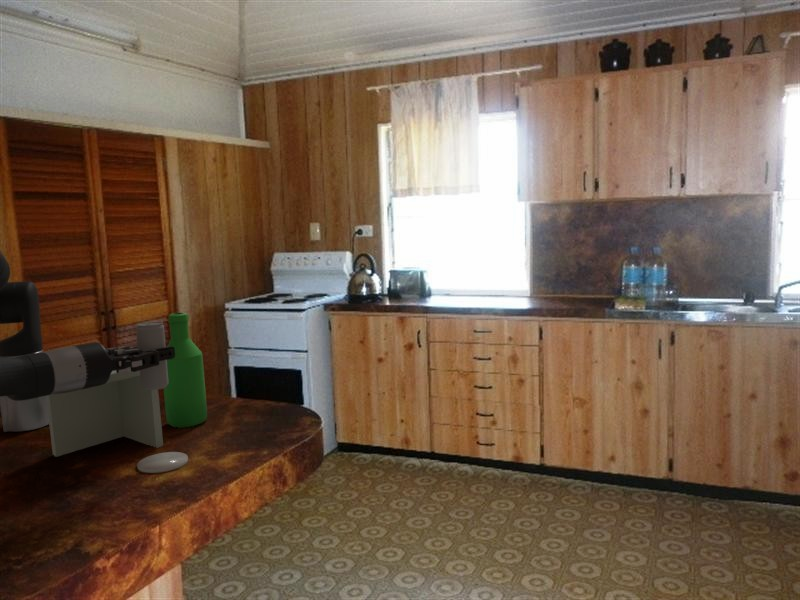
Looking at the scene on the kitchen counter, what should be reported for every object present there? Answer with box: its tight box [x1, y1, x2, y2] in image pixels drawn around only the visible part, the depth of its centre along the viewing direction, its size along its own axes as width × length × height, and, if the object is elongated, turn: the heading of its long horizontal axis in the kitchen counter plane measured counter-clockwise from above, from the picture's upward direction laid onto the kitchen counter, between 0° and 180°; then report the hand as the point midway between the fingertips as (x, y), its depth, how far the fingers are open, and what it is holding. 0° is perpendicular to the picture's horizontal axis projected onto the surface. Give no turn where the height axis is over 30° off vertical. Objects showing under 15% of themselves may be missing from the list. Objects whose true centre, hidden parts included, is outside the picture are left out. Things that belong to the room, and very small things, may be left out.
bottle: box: [163, 312, 208, 429], centre depth 146 cm, size 9×9×25 cm
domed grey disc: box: [136, 451, 189, 474], centre depth 124 cm, size 9×9×1 cm
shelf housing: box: [46, 370, 164, 457], centre depth 131 cm, size 16×14×17 cm
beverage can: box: [135, 321, 169, 391], centre depth 121 cm, size 5×5×12 cm
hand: (165, 350), depth 123 cm, fingers closed on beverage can, 4 cm apart
